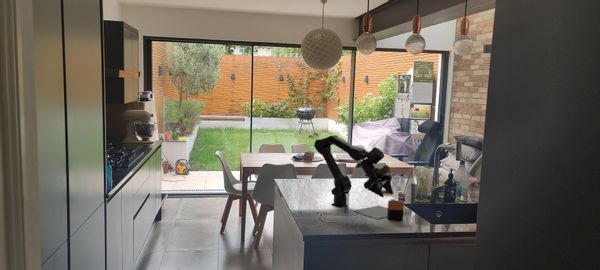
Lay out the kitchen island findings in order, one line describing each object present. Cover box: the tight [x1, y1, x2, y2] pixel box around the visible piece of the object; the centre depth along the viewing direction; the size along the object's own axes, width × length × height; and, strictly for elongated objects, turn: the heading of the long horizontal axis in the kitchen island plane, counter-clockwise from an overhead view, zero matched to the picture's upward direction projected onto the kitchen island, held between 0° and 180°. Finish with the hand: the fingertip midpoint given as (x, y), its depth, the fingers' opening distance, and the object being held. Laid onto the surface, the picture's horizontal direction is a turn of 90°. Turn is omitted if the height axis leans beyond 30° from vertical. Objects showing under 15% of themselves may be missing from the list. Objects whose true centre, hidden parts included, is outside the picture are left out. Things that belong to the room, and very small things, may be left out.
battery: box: [386, 199, 405, 222], centre depth 208 cm, size 4×7×10 cm, turn 92°
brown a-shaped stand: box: [378, 173, 390, 194], centre depth 266 cm, size 9×6×12 cm, turn 100°
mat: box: [353, 205, 388, 220], centre depth 220 cm, size 16×20×1 cm
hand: (388, 195), depth 210 cm, fingers open, 9 cm apart
